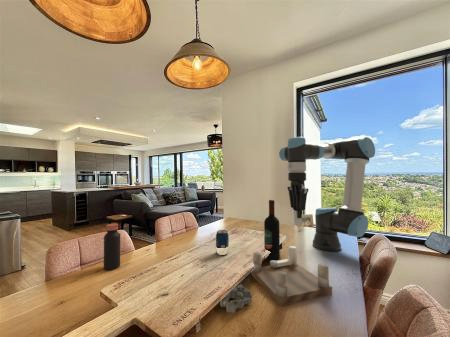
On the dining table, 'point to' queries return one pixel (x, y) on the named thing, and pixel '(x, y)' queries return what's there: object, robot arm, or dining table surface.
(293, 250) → the hinged leg
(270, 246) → the wine bottle
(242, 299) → the egg carton
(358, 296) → the dining table surface
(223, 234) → the soda can
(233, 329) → the dining table surface
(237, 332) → the dining table surface
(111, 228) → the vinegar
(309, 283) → the stool seat
